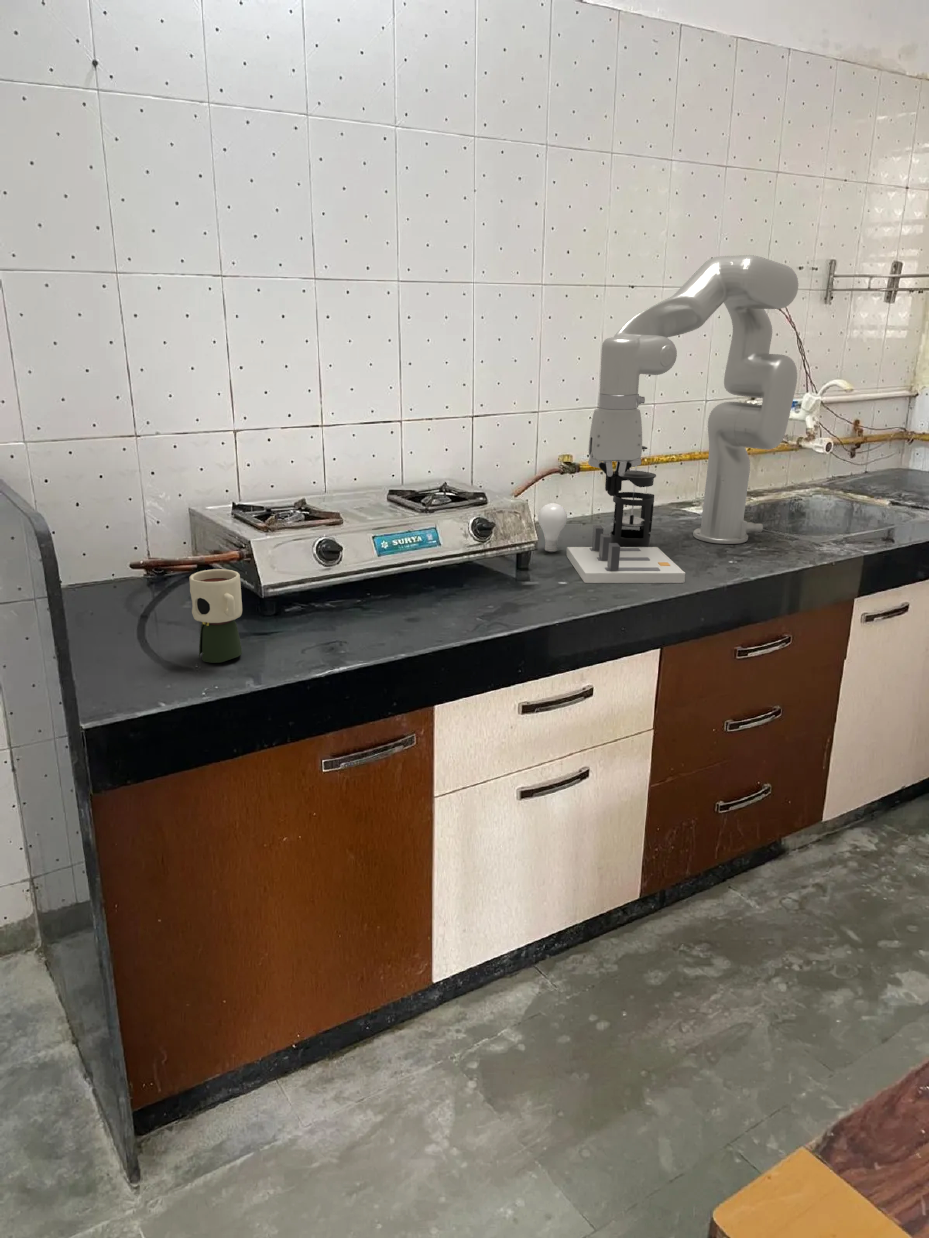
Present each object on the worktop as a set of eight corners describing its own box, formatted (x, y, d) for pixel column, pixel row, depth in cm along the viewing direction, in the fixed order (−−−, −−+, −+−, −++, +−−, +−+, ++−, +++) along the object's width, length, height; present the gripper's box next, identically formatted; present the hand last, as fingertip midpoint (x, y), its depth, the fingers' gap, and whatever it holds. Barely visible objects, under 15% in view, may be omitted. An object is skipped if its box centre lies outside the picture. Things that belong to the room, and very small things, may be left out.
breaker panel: (656, 556, 191) (657, 546, 190) (684, 582, 172) (685, 572, 171) (566, 555, 189) (567, 546, 189) (584, 583, 171) (585, 572, 170)
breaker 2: (615, 566, 174) (617, 543, 172) (618, 570, 171) (620, 546, 170) (607, 566, 174) (609, 543, 172) (610, 570, 171) (612, 546, 170)
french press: (630, 556, 190) (639, 450, 182) (597, 547, 197) (605, 445, 189) (663, 548, 197) (673, 446, 190) (631, 539, 204) (639, 441, 196)
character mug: (183, 652, 132) (175, 570, 128) (227, 642, 136) (221, 563, 132) (214, 675, 124) (207, 589, 120) (259, 664, 129) (254, 580, 124)
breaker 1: (599, 547, 188) (600, 525, 186) (601, 550, 185) (603, 528, 184) (591, 547, 188) (593, 525, 186) (594, 550, 185) (596, 528, 184)
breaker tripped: (606, 556, 181) (608, 533, 179) (609, 559, 178) (611, 537, 177) (599, 556, 181) (600, 533, 179) (601, 559, 178) (603, 537, 177)
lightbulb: (563, 557, 188) (566, 507, 185) (534, 554, 190) (536, 505, 186) (566, 549, 194) (569, 501, 191) (538, 547, 196) (540, 499, 192)
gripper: (649, 400, 175) (643, 490, 182) (576, 401, 174) (573, 491, 181) (660, 404, 169) (653, 497, 175) (584, 405, 167) (580, 499, 174)
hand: (612, 494), depth 178 cm, fingers closed
